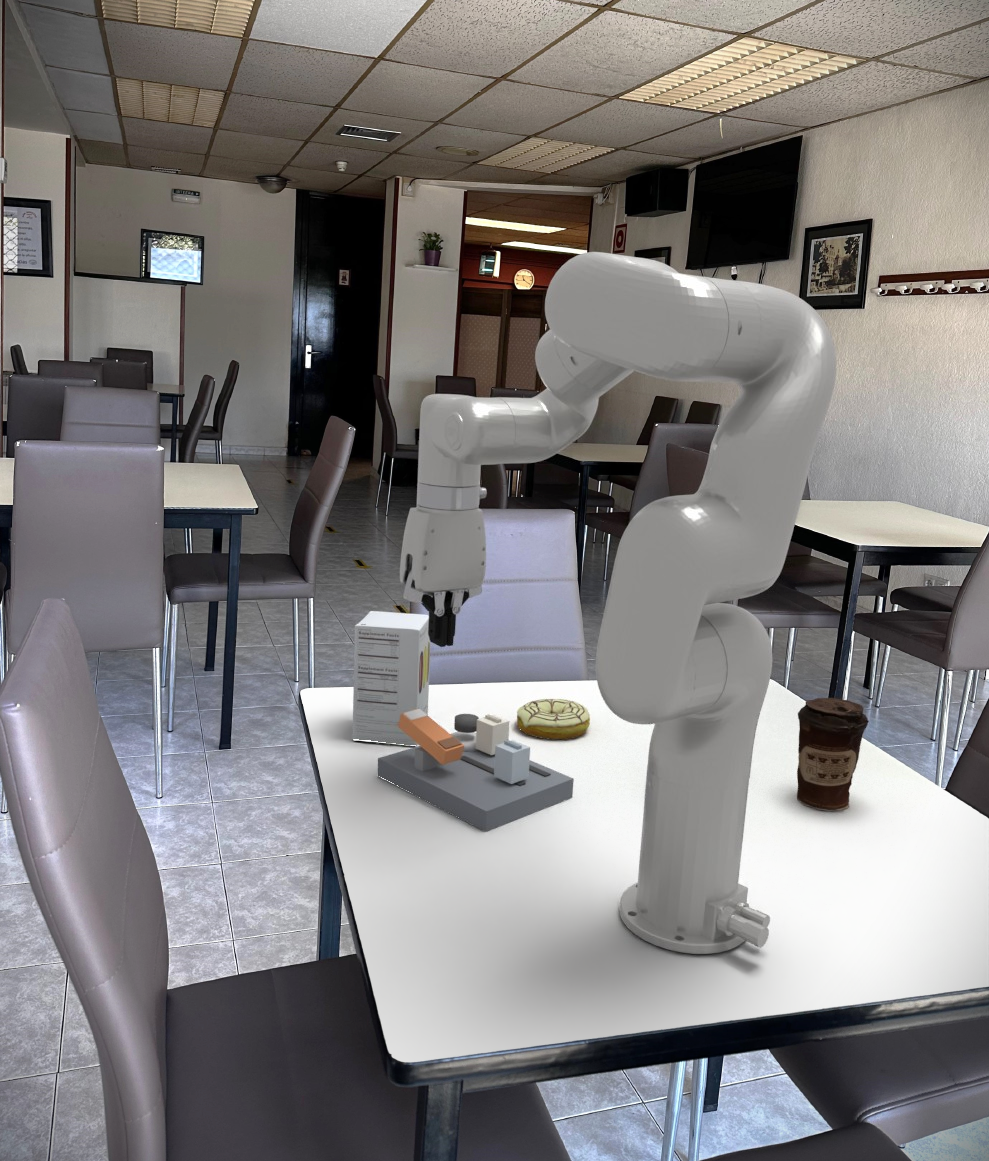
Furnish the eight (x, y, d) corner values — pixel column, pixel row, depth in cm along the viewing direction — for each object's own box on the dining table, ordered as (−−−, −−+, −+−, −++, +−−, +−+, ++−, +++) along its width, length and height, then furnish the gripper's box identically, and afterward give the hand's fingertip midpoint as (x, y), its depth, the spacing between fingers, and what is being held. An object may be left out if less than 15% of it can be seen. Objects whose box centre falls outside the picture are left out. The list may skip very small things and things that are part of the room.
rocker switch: (460, 759, 125) (464, 744, 125) (442, 765, 123) (446, 749, 122) (416, 721, 131) (419, 707, 130) (397, 726, 129) (401, 712, 128)
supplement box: (416, 748, 140) (420, 630, 136) (351, 742, 141) (353, 625, 137) (428, 724, 149) (432, 613, 146) (367, 719, 150) (369, 609, 147)
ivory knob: (507, 750, 133) (509, 718, 132) (491, 755, 131) (493, 723, 130) (492, 743, 135) (493, 711, 134) (475, 748, 133) (477, 716, 132)
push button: (483, 729, 135) (483, 718, 134) (465, 734, 132) (466, 723, 132) (467, 722, 137) (467, 712, 137) (449, 727, 135) (449, 717, 134)
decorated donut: (514, 717, 155) (515, 693, 154) (584, 719, 155) (586, 695, 154) (517, 741, 145) (519, 716, 144) (592, 744, 145) (594, 719, 144)
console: (572, 797, 126) (574, 759, 125) (485, 831, 116) (487, 791, 115) (463, 749, 140) (465, 715, 139) (377, 776, 130) (378, 739, 129)
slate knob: (528, 778, 124) (530, 744, 123) (511, 784, 122) (513, 749, 121) (511, 770, 126) (512, 737, 125) (493, 776, 124) (495, 742, 123)
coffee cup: (862, 821, 123) (875, 720, 121) (791, 812, 125) (803, 712, 122) (852, 793, 132) (864, 697, 129) (786, 785, 133) (796, 690, 131)
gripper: (482, 491, 130) (475, 629, 134) (378, 495, 122) (373, 642, 126) (516, 500, 124) (507, 645, 128) (409, 505, 116) (403, 659, 120)
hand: (441, 643), depth 127 cm, fingers closed
